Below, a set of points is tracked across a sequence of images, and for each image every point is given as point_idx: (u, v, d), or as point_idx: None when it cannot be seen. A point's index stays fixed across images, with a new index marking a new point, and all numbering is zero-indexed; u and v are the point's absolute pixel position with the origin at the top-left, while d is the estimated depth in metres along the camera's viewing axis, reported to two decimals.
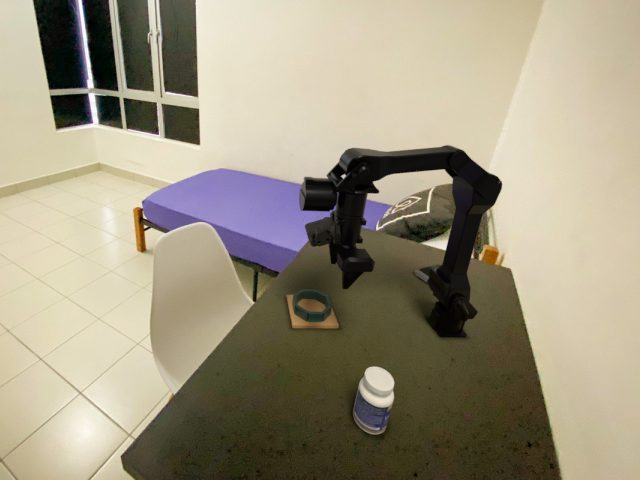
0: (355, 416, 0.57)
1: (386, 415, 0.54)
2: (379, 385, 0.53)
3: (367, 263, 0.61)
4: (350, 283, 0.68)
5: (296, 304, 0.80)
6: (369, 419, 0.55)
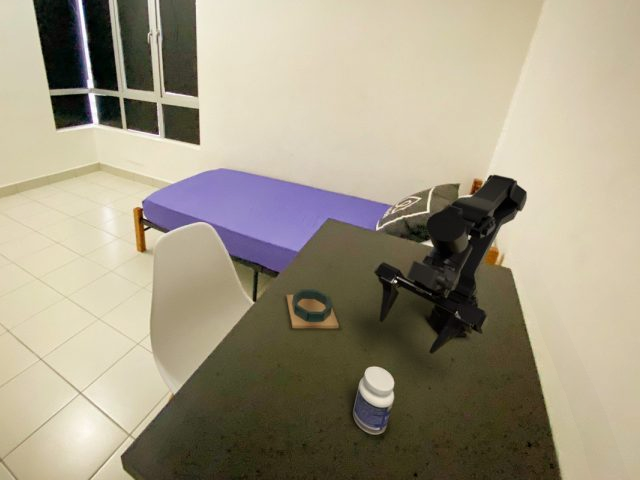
0: (355, 416, 0.57)
1: (386, 415, 0.54)
2: (379, 385, 0.53)
3: (486, 322, 0.55)
4: (440, 346, 0.56)
5: (296, 304, 0.80)
6: (369, 418, 0.55)
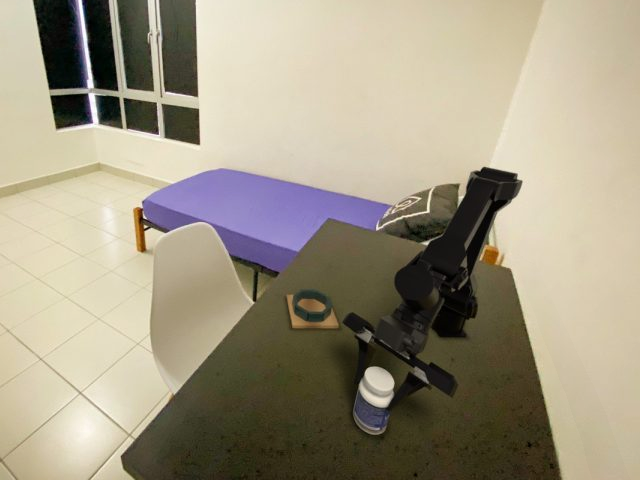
0: (355, 416, 0.57)
1: (386, 415, 0.54)
2: (379, 385, 0.53)
3: (456, 386, 0.51)
4: (398, 403, 0.53)
5: (296, 304, 0.80)
6: (369, 419, 0.55)
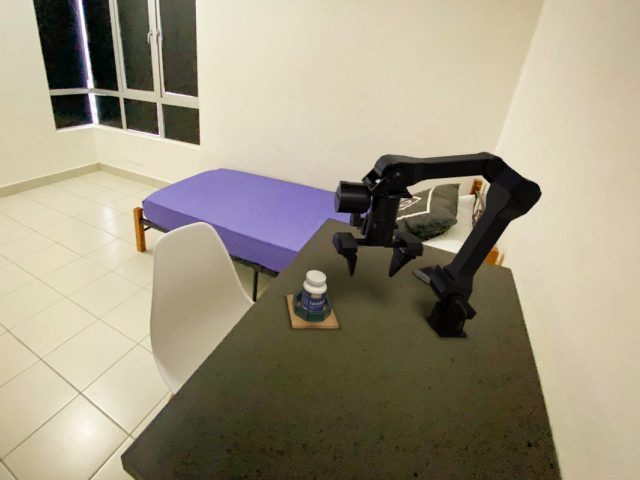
0: None
1: (310, 300, 0.79)
2: (310, 276, 0.79)
3: (337, 243, 0.71)
4: (349, 270, 0.75)
5: (296, 304, 0.80)
6: (302, 298, 0.81)
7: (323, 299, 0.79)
